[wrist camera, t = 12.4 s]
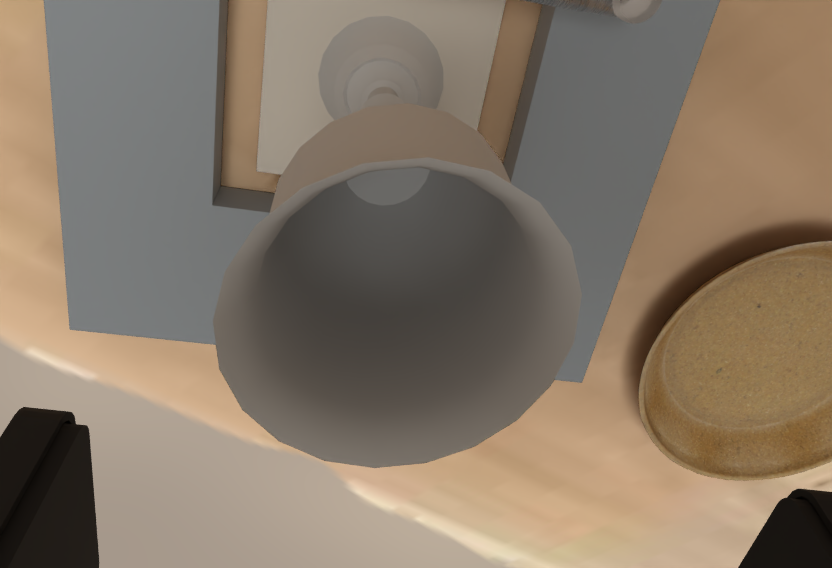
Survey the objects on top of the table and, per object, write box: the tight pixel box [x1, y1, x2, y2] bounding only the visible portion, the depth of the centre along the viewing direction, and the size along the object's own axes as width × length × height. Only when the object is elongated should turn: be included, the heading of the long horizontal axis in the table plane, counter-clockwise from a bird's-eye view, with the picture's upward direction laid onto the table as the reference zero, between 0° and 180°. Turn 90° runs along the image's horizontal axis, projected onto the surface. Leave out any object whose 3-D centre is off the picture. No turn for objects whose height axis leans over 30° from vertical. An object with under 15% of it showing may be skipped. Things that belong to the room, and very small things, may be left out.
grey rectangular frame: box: [44, 0, 720, 383], centre depth 31 cm, size 24×18×2 cm
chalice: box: [213, 16, 582, 468], centre depth 22 cm, size 7×7×18 cm
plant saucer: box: [638, 241, 832, 481], centre depth 37 cm, size 15×15×3 cm
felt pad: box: [256, 0, 506, 175], centre depth 30 cm, size 9×9×1 cm
